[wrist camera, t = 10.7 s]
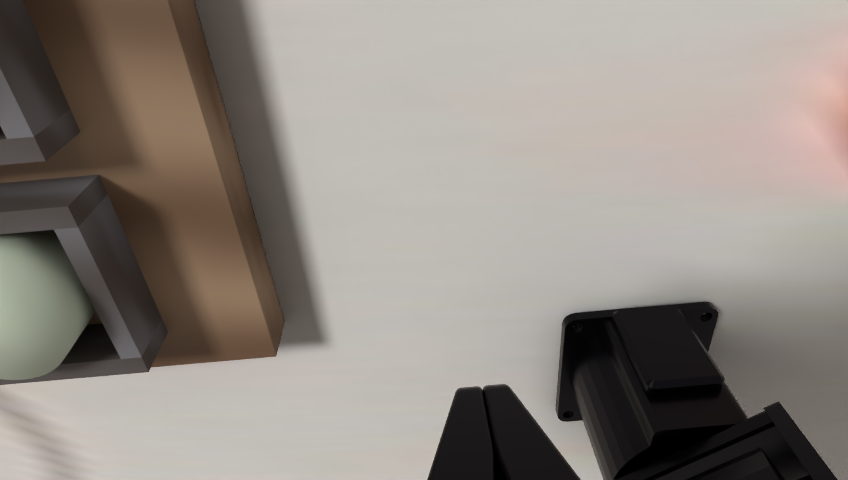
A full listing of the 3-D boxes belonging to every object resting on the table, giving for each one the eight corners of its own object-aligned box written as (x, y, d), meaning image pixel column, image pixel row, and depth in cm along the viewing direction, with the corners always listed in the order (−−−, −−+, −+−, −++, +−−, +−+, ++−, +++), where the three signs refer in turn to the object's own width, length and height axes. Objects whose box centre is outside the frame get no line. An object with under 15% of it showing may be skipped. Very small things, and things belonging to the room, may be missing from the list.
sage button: (128, 312, 21) (91, 373, 18) (8, 323, 21) (-46, 385, 18) (78, 207, 18) (27, 262, 16) (-58, 220, 18) (-131, 276, 16)
